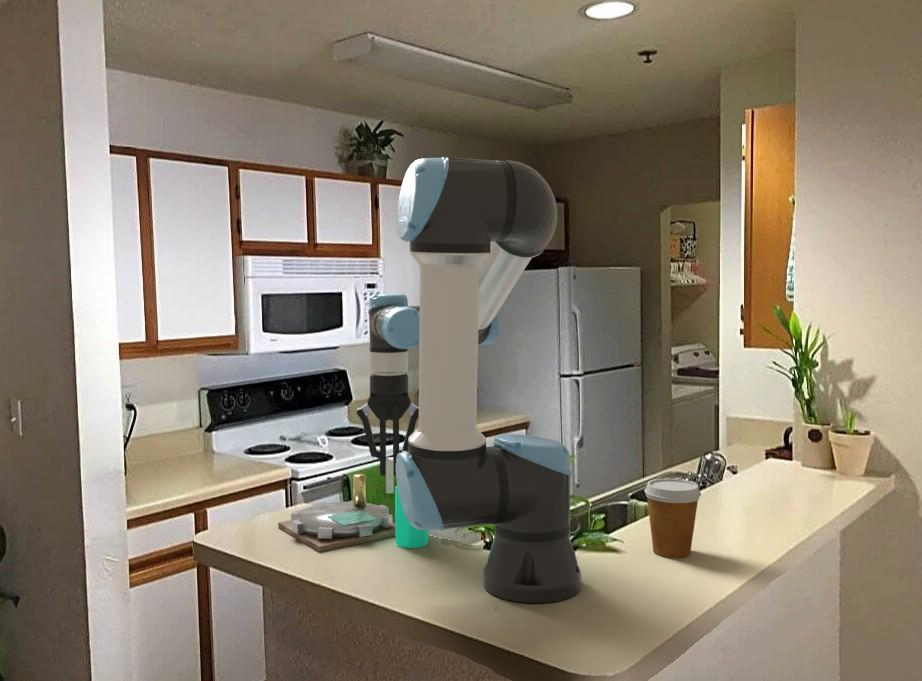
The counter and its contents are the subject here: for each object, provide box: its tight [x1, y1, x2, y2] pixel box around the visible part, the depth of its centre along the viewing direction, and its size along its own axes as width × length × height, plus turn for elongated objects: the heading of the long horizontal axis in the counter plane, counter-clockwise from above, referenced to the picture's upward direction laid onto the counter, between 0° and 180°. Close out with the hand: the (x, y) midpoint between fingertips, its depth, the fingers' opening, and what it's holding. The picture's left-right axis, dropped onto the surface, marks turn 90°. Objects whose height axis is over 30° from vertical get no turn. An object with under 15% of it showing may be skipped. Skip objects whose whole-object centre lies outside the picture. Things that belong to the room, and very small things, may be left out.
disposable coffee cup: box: [644, 478, 702, 559], centre depth 145 cm, size 10×10×12 cm
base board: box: [277, 519, 396, 553], centre depth 158 cm, size 18×18×1 cm
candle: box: [394, 485, 429, 549], centre depth 151 cm, size 6×6×12 cm
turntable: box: [290, 473, 393, 539], centre depth 158 cm, size 19×19×8 cm
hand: (389, 491), depth 165 cm, fingers closed
